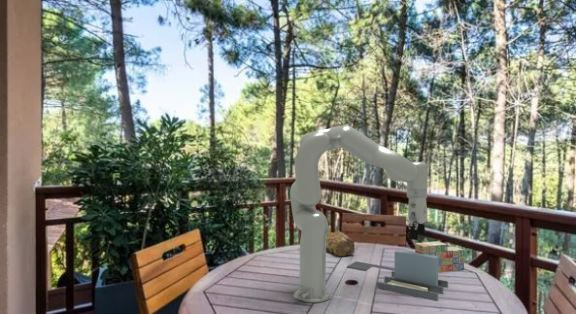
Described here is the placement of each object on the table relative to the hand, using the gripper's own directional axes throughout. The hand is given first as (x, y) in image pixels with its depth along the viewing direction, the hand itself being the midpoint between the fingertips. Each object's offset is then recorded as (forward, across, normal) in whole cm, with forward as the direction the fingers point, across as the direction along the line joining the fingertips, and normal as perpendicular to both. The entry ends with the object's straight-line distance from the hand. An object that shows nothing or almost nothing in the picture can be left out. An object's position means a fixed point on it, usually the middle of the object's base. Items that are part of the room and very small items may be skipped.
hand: (417, 237), depth 150 cm
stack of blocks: (+20, +28, -2) cm, 34 cm away
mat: (+19, +11, +22) cm, 32 cm away
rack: (+19, -4, 0) cm, 20 cm away
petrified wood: (+20, +28, +48) cm, 59 cm away
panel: (+20, -1, 0) cm, 20 cm away
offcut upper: (+18, -8, +2) cm, 20 cm away
